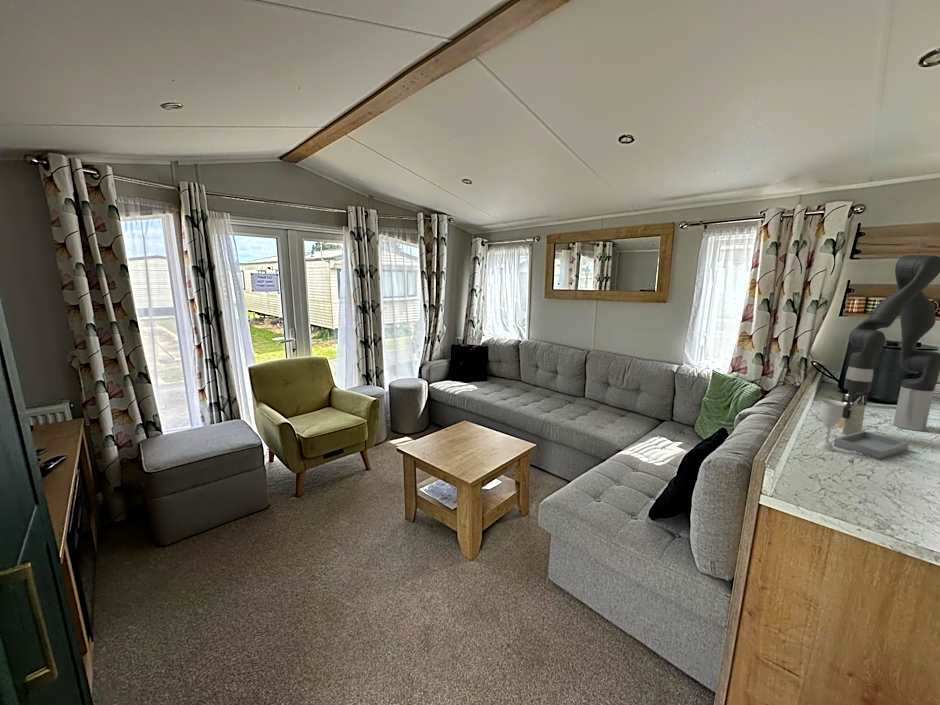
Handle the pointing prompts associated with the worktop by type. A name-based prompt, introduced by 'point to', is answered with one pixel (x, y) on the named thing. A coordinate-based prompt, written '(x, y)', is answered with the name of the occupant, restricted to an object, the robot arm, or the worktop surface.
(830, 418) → the chalice
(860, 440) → the tray
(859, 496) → the worktop surface
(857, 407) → the skincare box
